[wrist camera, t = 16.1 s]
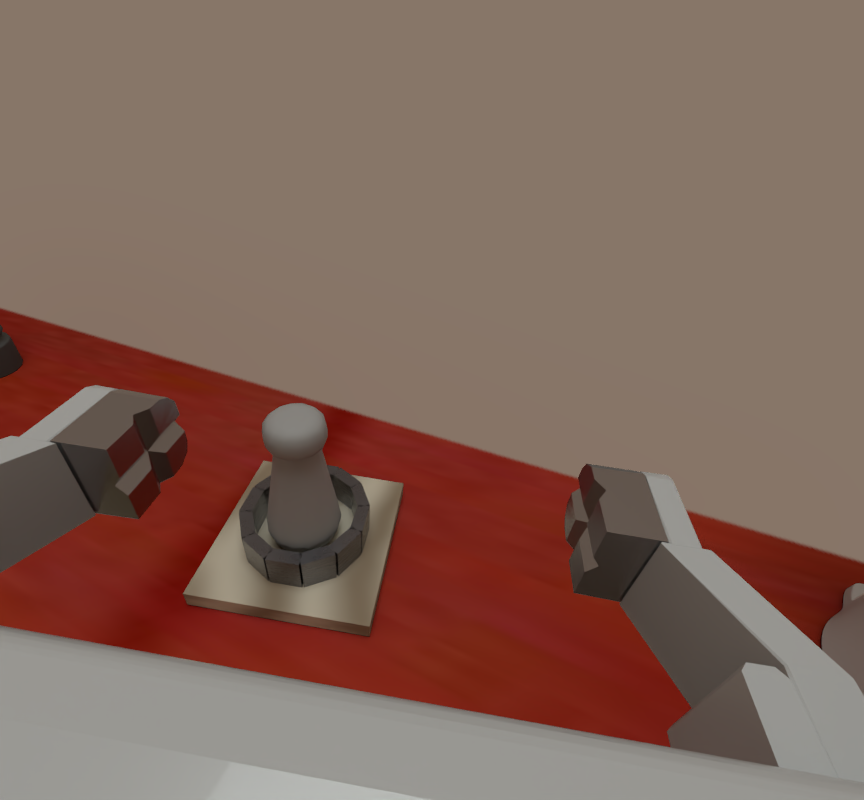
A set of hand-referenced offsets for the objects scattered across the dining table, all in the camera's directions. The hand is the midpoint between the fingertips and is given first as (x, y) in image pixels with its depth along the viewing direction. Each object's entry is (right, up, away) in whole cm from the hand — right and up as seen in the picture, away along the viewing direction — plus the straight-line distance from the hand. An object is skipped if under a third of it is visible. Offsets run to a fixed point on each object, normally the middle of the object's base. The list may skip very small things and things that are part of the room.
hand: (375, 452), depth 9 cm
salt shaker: (-10, -11, +29) cm, 32 cm away
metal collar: (-9, -10, +29) cm, 32 cm away
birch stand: (-10, -11, +30) cm, 34 cm away
